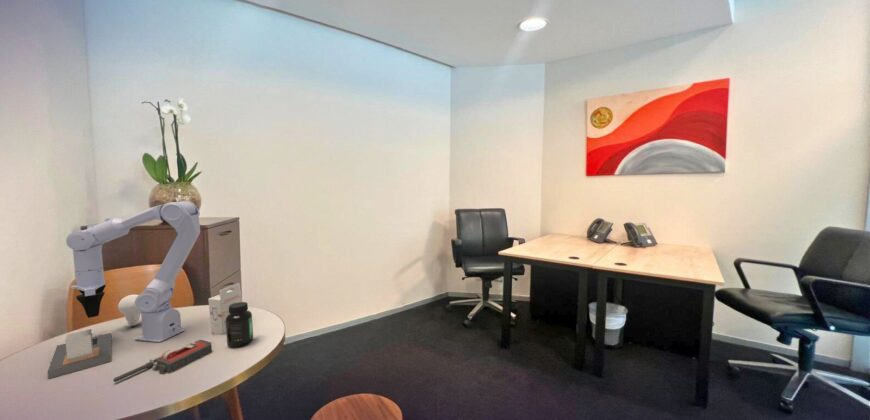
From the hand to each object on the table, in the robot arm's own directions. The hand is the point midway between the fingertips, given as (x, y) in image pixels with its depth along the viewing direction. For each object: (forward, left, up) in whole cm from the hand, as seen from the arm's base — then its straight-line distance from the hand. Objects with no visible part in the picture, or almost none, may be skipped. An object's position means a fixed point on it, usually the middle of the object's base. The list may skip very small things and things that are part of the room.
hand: (93, 312), depth 96 cm
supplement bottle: (-44, -7, -10) cm, 46 cm away
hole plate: (-6, +7, -9) cm, 13 cm away
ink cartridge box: (-32, -15, -10) cm, 37 cm away
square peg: (-10, +10, -7) cm, 15 cm away
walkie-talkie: (-34, +6, -10) cm, 36 cm away
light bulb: (+1, -11, -10) cm, 15 cm away
